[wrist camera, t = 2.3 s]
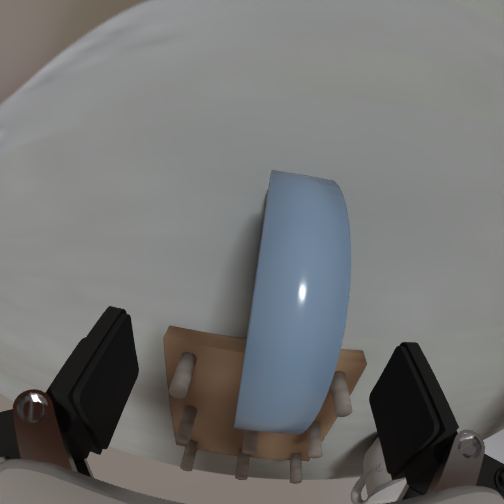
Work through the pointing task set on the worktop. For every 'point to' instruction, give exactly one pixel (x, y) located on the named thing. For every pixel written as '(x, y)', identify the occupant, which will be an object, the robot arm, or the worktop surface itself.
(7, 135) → the worktop surface
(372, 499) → the teacup
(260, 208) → the worktop surface
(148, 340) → the worktop surface
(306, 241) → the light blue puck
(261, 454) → the dish rack
